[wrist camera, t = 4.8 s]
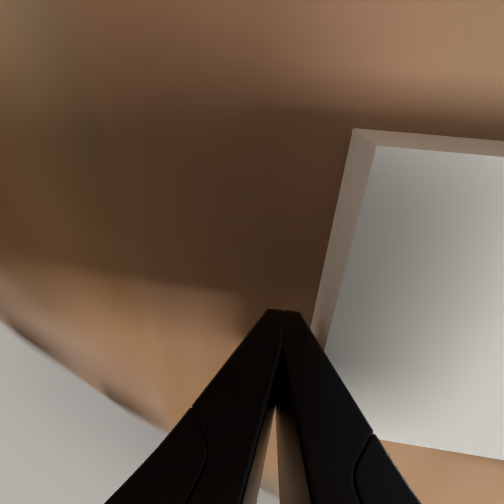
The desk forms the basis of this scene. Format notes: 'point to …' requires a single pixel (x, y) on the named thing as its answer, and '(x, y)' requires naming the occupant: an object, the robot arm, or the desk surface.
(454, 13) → the desk surface
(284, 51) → the desk surface
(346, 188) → the tile
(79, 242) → the desk surface
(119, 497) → the robot arm
